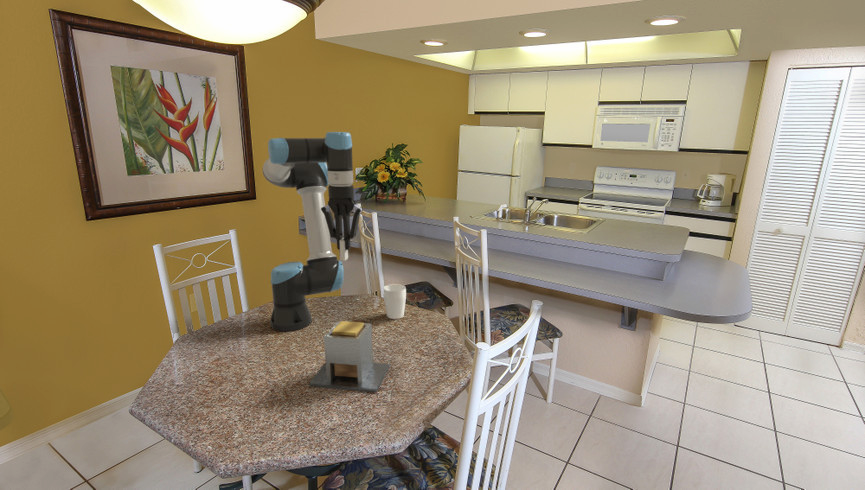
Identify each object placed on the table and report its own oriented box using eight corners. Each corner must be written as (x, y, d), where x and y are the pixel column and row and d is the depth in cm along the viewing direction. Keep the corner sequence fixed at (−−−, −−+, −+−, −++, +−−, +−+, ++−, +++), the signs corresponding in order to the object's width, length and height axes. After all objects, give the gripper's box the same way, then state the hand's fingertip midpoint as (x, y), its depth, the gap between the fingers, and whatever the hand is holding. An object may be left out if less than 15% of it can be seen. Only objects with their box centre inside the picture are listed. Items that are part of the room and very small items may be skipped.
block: (335, 375, 125) (332, 331, 121) (343, 363, 131) (341, 321, 128) (357, 377, 123) (355, 332, 120) (365, 365, 130) (363, 322, 127)
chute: (309, 386, 123) (305, 338, 119) (328, 362, 136) (325, 318, 133) (376, 392, 120) (374, 343, 116) (389, 367, 133) (388, 322, 129)
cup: (403, 321, 166) (402, 292, 164) (381, 319, 168) (380, 290, 165) (409, 312, 175) (408, 284, 172) (388, 310, 177) (387, 283, 174)
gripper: (315, 185, 127) (320, 261, 133) (357, 187, 124) (360, 264, 131) (325, 182, 134) (329, 254, 140) (365, 183, 132) (367, 257, 138)
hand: (344, 259), depth 135 cm, fingers closed
